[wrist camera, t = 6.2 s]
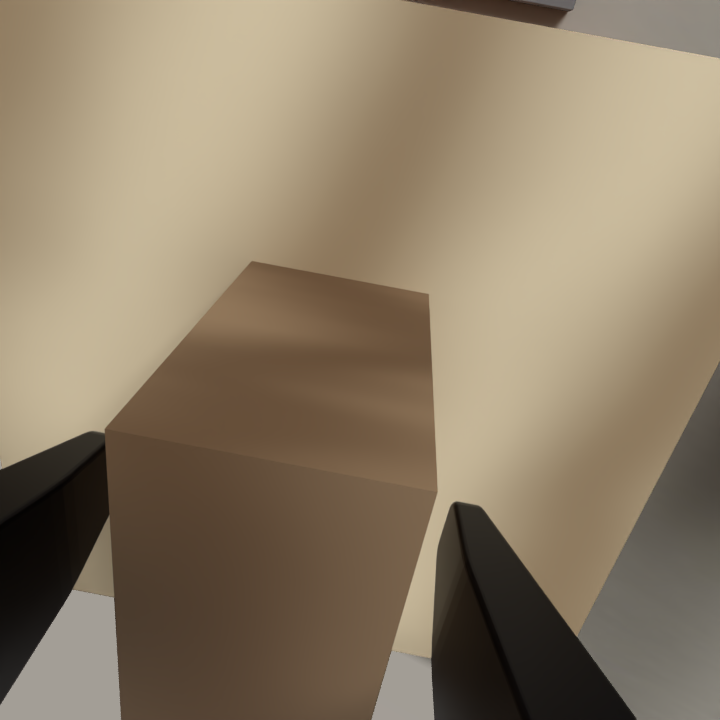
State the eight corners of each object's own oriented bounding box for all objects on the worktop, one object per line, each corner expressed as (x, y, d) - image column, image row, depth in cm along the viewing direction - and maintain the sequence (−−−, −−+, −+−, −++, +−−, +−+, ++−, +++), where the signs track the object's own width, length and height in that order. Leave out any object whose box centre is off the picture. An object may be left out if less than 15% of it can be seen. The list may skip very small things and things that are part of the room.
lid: (808, 82, 9) (1492, 105, 3) (543, 636, 15) (618, 978, 9) (-29, -71, 9) (-791, -311, 3) (49, 542, 15) (-172, 823, 9)
